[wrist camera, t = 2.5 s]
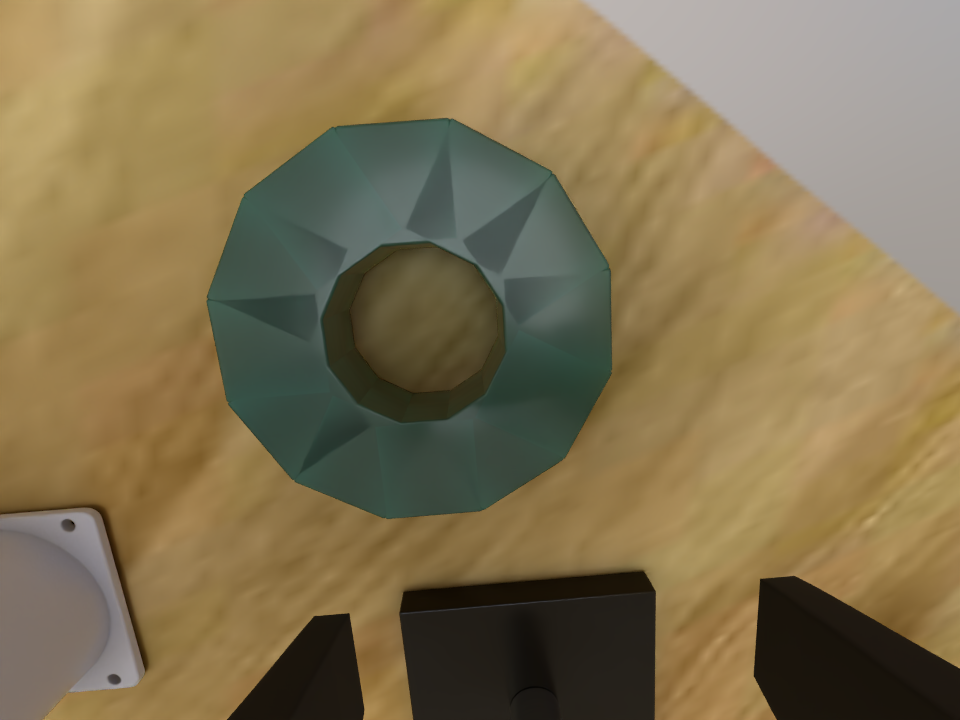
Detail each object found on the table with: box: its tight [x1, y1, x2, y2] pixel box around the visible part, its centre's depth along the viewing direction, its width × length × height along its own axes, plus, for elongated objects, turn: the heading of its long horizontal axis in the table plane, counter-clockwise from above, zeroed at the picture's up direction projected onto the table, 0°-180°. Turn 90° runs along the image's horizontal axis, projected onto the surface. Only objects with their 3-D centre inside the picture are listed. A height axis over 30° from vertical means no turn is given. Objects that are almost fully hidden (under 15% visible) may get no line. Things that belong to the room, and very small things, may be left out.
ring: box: [207, 118, 612, 519], centre depth 15 cm, size 12×12×3 cm
